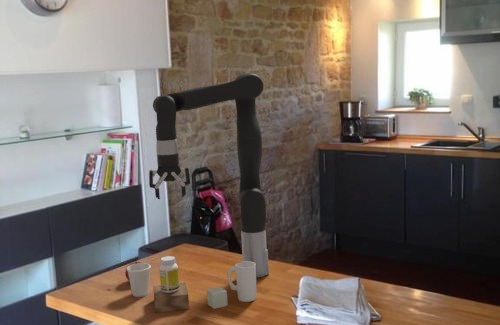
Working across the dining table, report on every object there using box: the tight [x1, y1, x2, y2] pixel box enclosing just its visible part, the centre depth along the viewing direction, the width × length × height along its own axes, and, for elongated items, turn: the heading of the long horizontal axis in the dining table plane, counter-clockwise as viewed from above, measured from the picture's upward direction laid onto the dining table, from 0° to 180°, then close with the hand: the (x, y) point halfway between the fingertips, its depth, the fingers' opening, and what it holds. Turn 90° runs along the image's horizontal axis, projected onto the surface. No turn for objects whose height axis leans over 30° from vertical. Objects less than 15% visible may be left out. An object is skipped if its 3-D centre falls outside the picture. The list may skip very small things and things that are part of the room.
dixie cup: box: [126, 262, 152, 298], centre depth 200 cm, size 8×8×10 cm
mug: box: [227, 260, 257, 303], centre depth 191 cm, size 10×7×12 cm, turn 71°
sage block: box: [206, 286, 228, 310], centre depth 187 cm, size 5×5×5 cm
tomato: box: [124, 261, 143, 282], centre depth 212 cm, size 9×9×8 cm
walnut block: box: [152, 282, 190, 314], centre depth 189 cm, size 11×11×5 cm
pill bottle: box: [158, 255, 180, 293], centre depth 188 cm, size 6×6×11 cm
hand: (170, 197), depth 201 cm, fingers open, 8 cm apart
